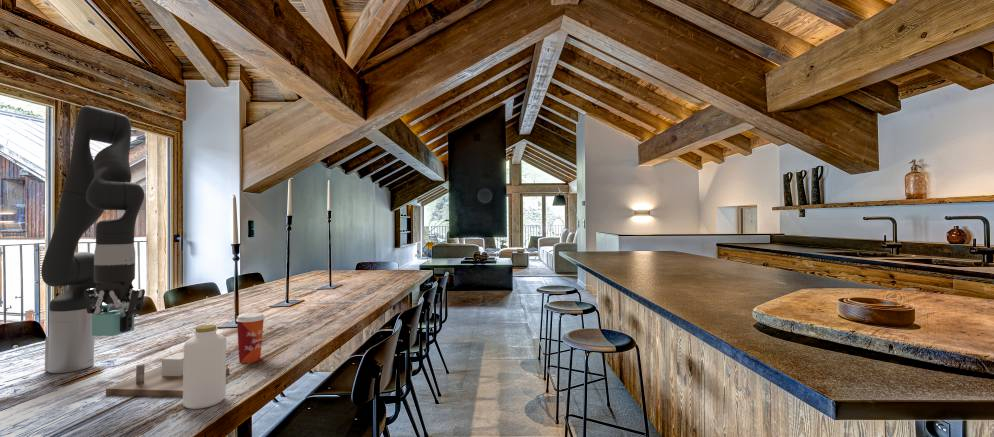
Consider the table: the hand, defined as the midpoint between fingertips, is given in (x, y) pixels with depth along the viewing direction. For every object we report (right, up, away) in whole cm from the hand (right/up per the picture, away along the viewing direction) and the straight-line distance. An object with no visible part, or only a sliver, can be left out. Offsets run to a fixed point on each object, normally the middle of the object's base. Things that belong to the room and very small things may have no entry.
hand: (113, 330), depth 103 cm
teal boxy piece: (0, -1, 0) cm, 1 cm away
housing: (+8, -14, +11) cm, 19 cm away
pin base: (+9, -16, +7) cm, 19 cm away
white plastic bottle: (+25, -16, -4) cm, 30 cm away
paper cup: (+18, -16, +26) cm, 36 cm away
